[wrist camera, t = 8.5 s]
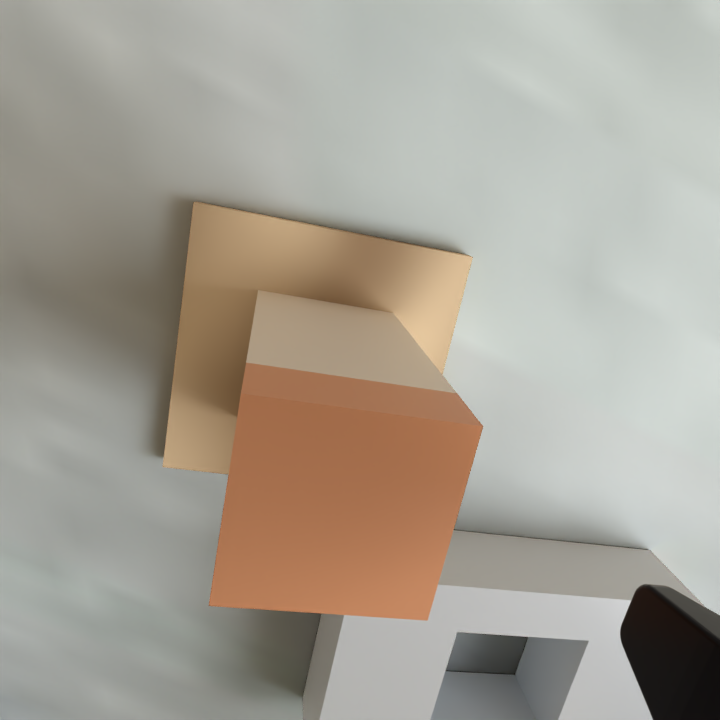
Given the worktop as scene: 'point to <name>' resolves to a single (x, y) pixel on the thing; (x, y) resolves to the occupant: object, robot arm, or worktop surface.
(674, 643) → the robot arm
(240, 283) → the mat
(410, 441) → the plug
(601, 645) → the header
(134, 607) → the worktop surface
